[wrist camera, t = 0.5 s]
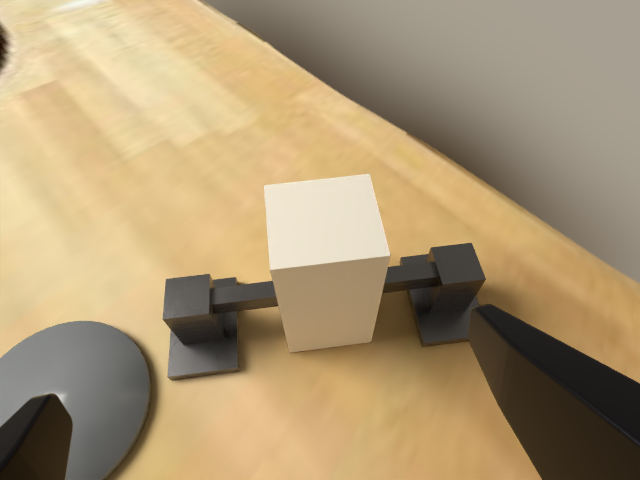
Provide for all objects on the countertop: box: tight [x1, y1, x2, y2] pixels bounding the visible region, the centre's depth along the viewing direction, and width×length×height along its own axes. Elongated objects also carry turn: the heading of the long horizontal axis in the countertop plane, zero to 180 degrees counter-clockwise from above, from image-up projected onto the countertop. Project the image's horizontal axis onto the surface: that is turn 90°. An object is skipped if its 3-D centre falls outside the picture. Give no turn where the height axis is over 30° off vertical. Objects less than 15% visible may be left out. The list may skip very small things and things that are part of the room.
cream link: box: [264, 174, 390, 353], centre depth 23 cm, size 5×5×10 cm
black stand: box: [163, 243, 486, 380], centre depth 25 cm, size 6×19×4 cm, turn 97°
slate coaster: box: [0, 321, 151, 480], centre depth 24 cm, size 10×10×1 cm
